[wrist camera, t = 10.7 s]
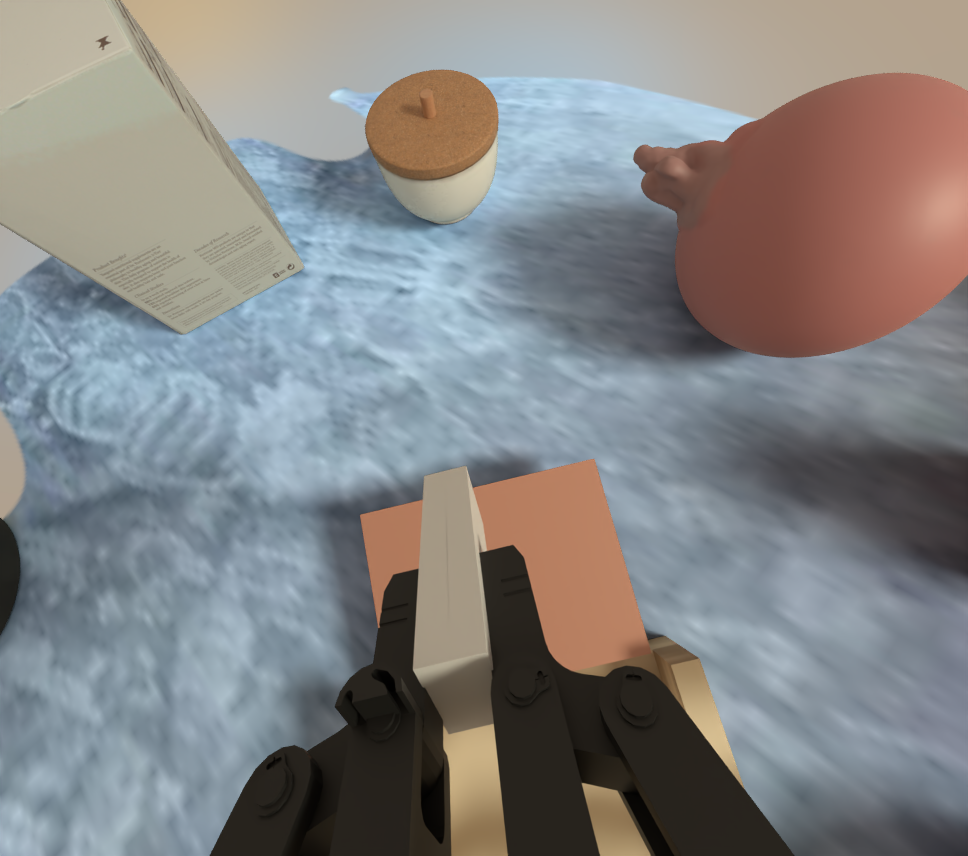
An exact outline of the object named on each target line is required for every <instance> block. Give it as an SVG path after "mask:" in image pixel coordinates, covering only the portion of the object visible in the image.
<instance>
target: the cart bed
mask: <svg viewBox="0 0 968 856" xmlns="http://www.w3.org/2000/svg"><path fill="white" fill-rule="evenodd" d="M648 643H649V646H650V650H651V654H646V655H642V656H638V657H633V658H629V659H625V660H620V661H616V662H612V663H607V664H603V665H599V666H594V667H590V668H586V669H581V670H577V671H574V672H578V673H581V674H588V675H595V676H603V677H605V676H606V675H608V674H609V673H610V672H611V671H612V670H613V669H616V668H619V667H623V666H626V665H627V666H635V667H641V668H643V669H645V670H647V671H649V672H651V673H653V674H655V675H656V676H657V677H658V678H659V679H660V680H661V681H662V682H663V683H664V684H665V685H666V686H667V687H668V689H669V690H670V691H671V693H672V694H673V695H674V697H675V698H676V699H677V701H678V702H679V703H680V705H681V706H682V707H683V709H684V710H685V711H686V712H687V714H688V715H689V716H690V718H691V719H692V720H693V722H694V723H695V724H696V726H697V727H698V728H699V730H700V731H701V732H702V734H703V735H704V736H705V738H706V739H707V740H708V742H709V743H710V744H711V746H712V747H713V748H714V750H715V751H716V752H717V754H718V755H719V756H720V758H721V759H722V760H723V762H724V763H725V764H726V766H727V767H728V768H729V770H730V771H731V772H732V773H733V775H734V776H735V777H736V779H737V780H738V781H739V783H740V784H741V785H742V787H743V788H744V786H743V784H742V781H741V778H740V775H739V772H738V769H737V766H736V763H735V760H734V757H733V755H732V752H731V749H730V746H729V743H728V740H727V737H726V734H725V731H724V729H723V726H722V723H721V720H720V717H719V714H718V711H717V708H716V705H715V702H714V700H713V697H712V694H711V691H710V688H709V685H708V682H707V679H706V676H705V674H704V671H703V668H702V665H701V662H700V659H699V658H698V657H696V656H695V655H693V654H692V653H690V652H689V651H687V650H686V649H684V648H683V647H681V646H680V645H678V644H677V643H675V642H674V641H672V640H671V639H669V638H668V637H666V636H662V637H658V638H654V639H649V640H648ZM443 749H444V751H445V752H446V754H447V757H448V762H449V768H450V810H451V856H508V853H507V843H506V834H505V825H504V815H503V806H502V797H501V787H500V778H499V769H498V759H497V750H496V741H495V731H494V724H491V725H487V726H482V727H478V728H474V729H469V730H465V731H461V732H457V733H452V734H448V732H447V730H446V729H445V727H444V725H443ZM582 786H583V790H584V794H585V798H586V802H587V806H588V810H589V814H590V818H591V822H592V826H593V830H594V834H595V837H596V841H597V845H598V849H599V853H600V856H651V855H650V853H649V851H648V849H647V847H646V845H645V843H644V841H643V839H642V837H641V835H640V833H639V832H638V830H637V828H636V826H635V824H634V822H633V820H632V818H631V816H630V814H629V812H628V810H627V808H626V806H625V804H624V803H623V801H622V799H621V797H620V795H619V793H618V791H616V790H612V789H607V788H603V787H598V786H594V785H589V784H585V783H582Z"/></svg>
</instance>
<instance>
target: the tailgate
mask: <svg viewBox="0 0 968 856" xmlns="http://www.w3.org/2000/svg"><path fill="white" fill-rule="evenodd" d="M473 491H474V495H475V498H476V501H477V505H478V508H479V512H480V515H481V518H482V522H483V527H484V534H485V541H486V548H487V551H489V550H493V549H497V548H501V547H506V546H510V545H514V546H515V547H516V548H517V550H518V551H519V552H520V553H521V554H522V555H523V557H524V559H525V563H526V567H527V571H528V575H529V579H530V583H531V587H532V591H533V595H534V599H535V602H536V606H537V610H538V614H539V618H540V622H541V626H542V630H543V634H544V638H545V642H546V644H547V647H548V650H549V652H550V653H551V654H552V656H553V657H554V659H555V660H556V661H557V662H559V663H560V664H561V665H562V666H563V667H565V668H567V669H569V670H571V671H577V670H581V669H586V668H590V667H594V666H599V665H603V664H607V663H612V662H616V661H620V660H625V659H629V658H633V657H638V656H642V655H646V654H651V650H650V646H649V643H648V640H647V636H646V633H645V629H644V626H643V623H642V619H641V616H640V612H639V609H638V606H637V602H636V599H635V595H634V592H633V589H632V585H631V582H630V578H629V575H628V572H627V568H626V565H625V561H624V558H623V555H622V551H621V548H620V544H619V541H618V538H617V534H616V531H615V527H614V524H613V521H612V517H611V514H610V511H609V507H608V504H607V500H606V497H605V494H604V490H603V487H602V483H601V480H600V477H599V473H598V470H597V466H596V463H595V460H594V459H591V460H586V461H582V462H578V463H574V464H570V465H566V466H561V467H557V468H553V469H549V470H545V471H541V472H536V473H532V474H528V475H524V476H520V477H515V478H511V479H507V480H503V481H499V482H495V483H490V484H486V485H482V486H478V487H474V488H473ZM422 505H423V500H420V501H415V502H411V503H407V504H403V505H399V506H394V507H390V508H386V509H382V510H378V511H374V512H369V513H365V514H361V515H360V518H361V524H362V530H363V536H364V543H365V549H366V555H367V561H368V567H369V573H370V579H371V586H372V592H373V598H374V604H375V610H376V616H377V622H378V628H379V627H380V626H379V621H380V615H381V613H382V610H381V608H382V601H383V595H384V591H385V589H386V587H387V585H388V583H389V581H390V580H391V578H392V576H393V574H397V573H402V572H406V571H410V570H414V569H418V568H419V556H420V539H421V522H422Z"/></svg>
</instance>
